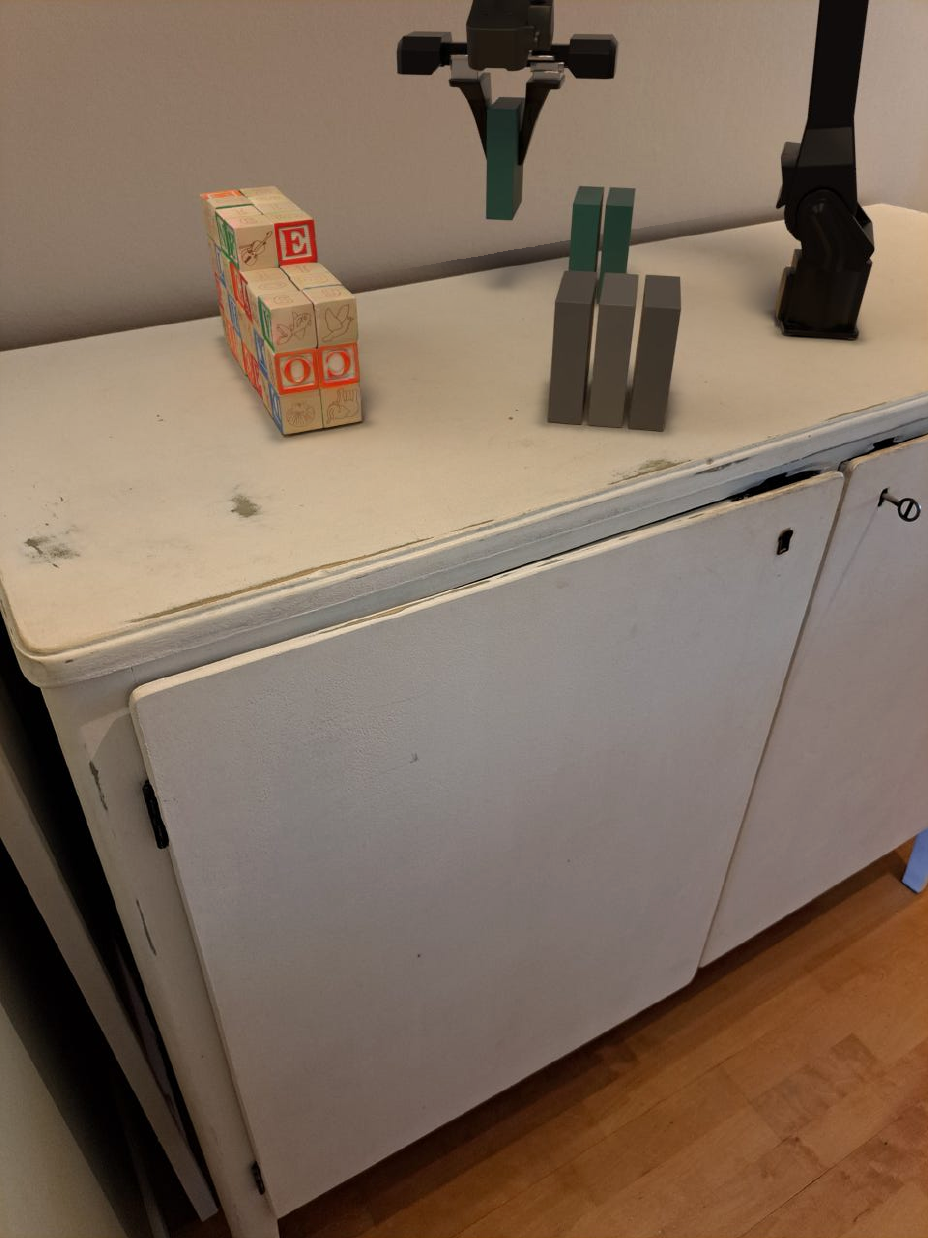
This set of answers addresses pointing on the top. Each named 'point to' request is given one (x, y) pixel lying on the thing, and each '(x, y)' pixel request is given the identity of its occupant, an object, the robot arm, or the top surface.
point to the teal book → (504, 158)
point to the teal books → (589, 230)
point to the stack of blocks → (283, 309)
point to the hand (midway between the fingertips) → (505, 164)
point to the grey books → (613, 349)
